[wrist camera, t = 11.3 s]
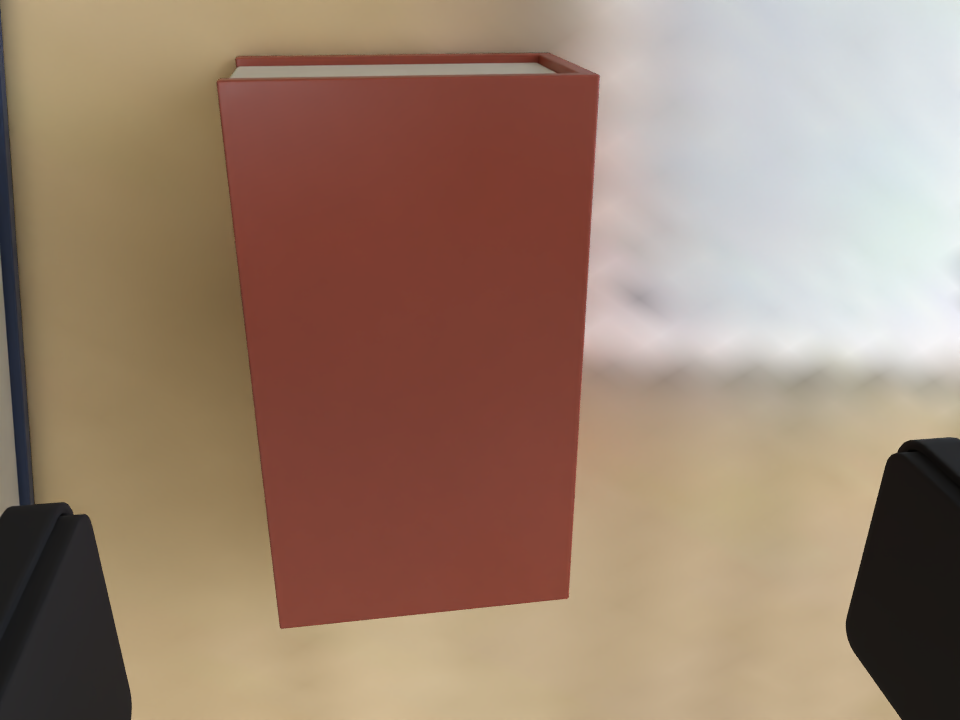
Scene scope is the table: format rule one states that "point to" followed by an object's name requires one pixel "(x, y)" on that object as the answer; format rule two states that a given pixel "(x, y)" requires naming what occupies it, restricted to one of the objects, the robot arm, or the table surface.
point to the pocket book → (413, 321)
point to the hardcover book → (11, 339)
